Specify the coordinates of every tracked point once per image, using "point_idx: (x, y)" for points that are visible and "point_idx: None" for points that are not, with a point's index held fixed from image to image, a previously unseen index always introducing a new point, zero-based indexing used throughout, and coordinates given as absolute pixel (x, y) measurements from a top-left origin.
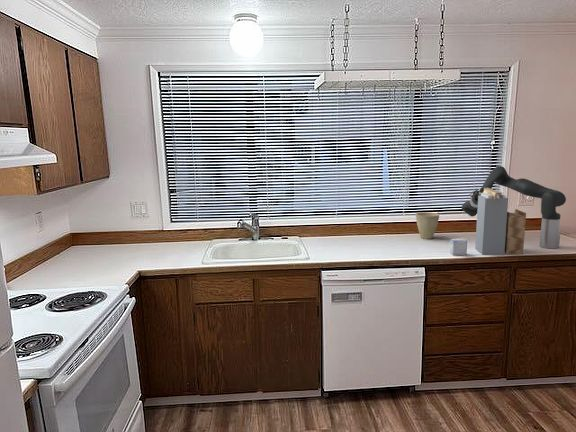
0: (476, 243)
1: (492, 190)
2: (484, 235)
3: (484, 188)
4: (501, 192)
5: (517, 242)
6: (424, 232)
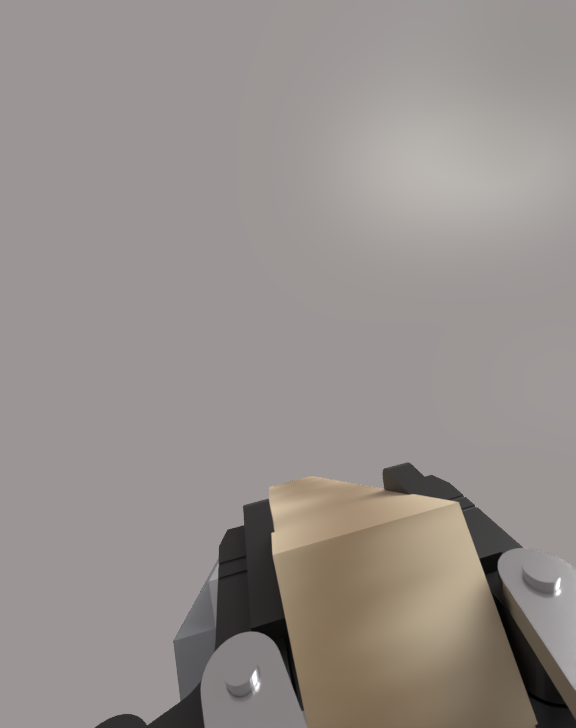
0: None
1: (300, 487)
2: None
3: (374, 496)
4: (271, 486)
5: None
6: None
